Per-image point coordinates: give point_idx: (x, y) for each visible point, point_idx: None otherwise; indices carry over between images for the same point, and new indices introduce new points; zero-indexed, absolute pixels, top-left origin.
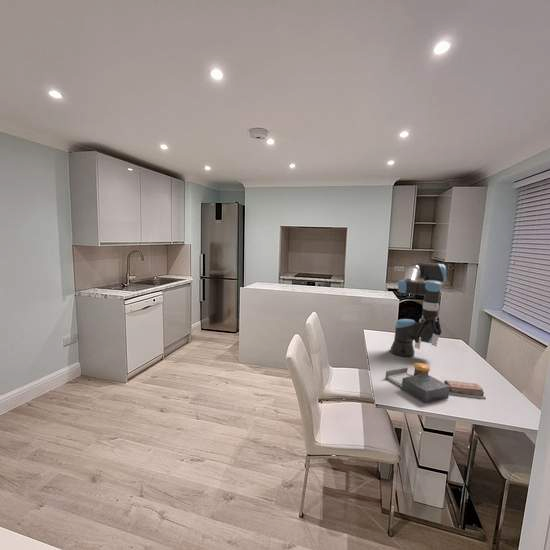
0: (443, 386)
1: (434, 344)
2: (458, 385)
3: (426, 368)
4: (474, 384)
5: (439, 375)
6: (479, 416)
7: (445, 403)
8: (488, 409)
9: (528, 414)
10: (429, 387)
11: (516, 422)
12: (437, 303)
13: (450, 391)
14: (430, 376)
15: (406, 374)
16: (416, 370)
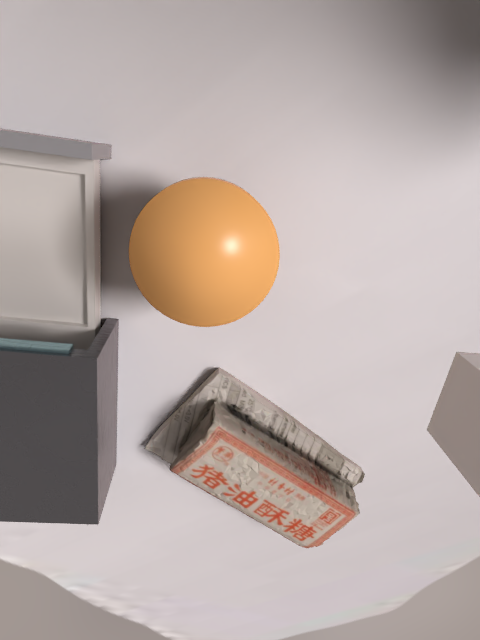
0: (45, 515)
1: (451, 422)
2: (225, 488)
3: (188, 315)
4: (330, 514)
5: (372, 282)
6: (98, 581)
7: None
8: (199, 568)
9: (311, 621)
10: None
11: (201, 630)
12: None
13: (177, 449)
14: (93, 403)
15: (78, 175)
16: None
